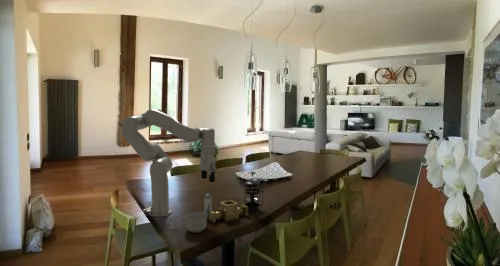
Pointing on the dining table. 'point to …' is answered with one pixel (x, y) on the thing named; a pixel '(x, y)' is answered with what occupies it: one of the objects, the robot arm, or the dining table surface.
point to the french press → (252, 205)
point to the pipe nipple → (207, 203)
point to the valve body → (228, 211)
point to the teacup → (196, 221)
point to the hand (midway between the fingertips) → (208, 180)
